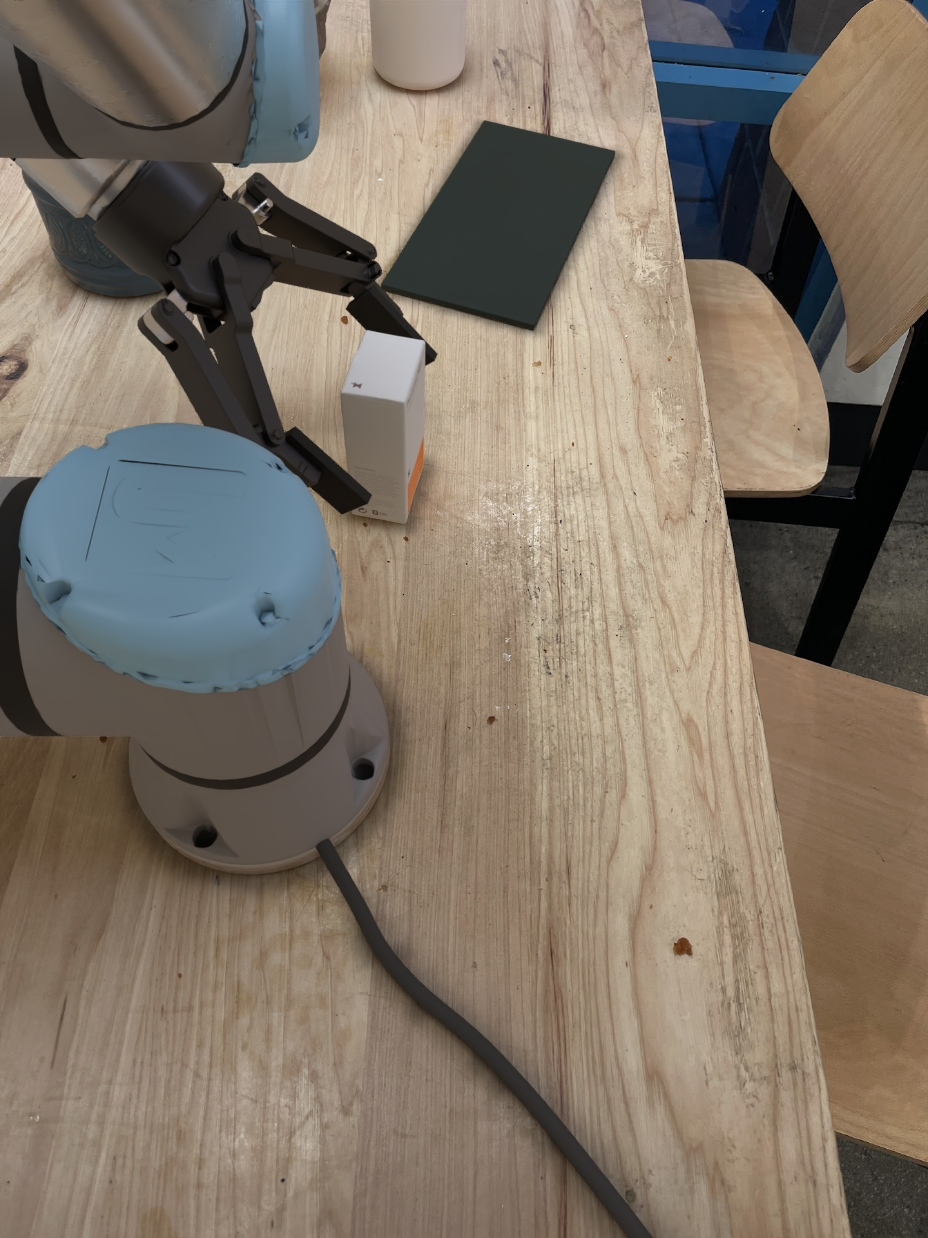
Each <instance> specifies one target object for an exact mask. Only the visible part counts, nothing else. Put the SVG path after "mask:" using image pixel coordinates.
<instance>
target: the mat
mask: <svg viewBox="0 0 928 1238" xmlns="http://www.w3.org/2000/svg"><path fill="white" fill-rule="evenodd" d="M615 156H616V150H614V149H609V148H606V147H602V146H596V145H594V144H593V145H592V144H588V143H583V142H580V141H575V140H571V139H566V138H563V137H559V136H554V135H549V134H545V133H542V132H538V131H533V130H528V129H524V128H520V127H515V126H511V125H507V124H503V123H498V122H495V121H489V120H487V119H484V120H483V121H482V123H481V124H480V126H479V128H478V129H477V131H476V132H475V134H474V136H473V137H472V138H471V140H470V142H469V143H468V145H467V146H466V149H465V150H464V152H463V153H462V155H461V156H460V158H459V159H458V161H457V162H456V164H455V165H454V167H453V169H452V170H451V172H450V174H449V175H448V177H447V178H446V180H445V182H444V183H443V185H442V186H441V188H440V189H439V191H438V193H437V194H436V195H435V197H434V199H433V201H432V202H431V204H430V205H429V207H428V208H427V210H426V212H425V213H424V215H423V216H422V218H421V220H420V221H419V223H418V224H417V226H416V227H415V229H414V231H413V232H412V234H411V235H410V237H409V239H408V240H407V242H406V244H405V245H404V247H403V248H402V249H401V251H400V253H399V255H398V256H397V257H396V260H395V261H394V263H393V264H392V266H391V267H390V269H389V270H388V272H387V274H386V275H385V277H384V278H383V280H382V282H381V283H380V287H381V288H382V289H383V290H384V291H385V292H389V293H393V294H397V295H400V296H403V297H408V298H412V299H415V300H419V301H422V302H426V303H430V304H434V305H437V306H442V307H445V308H449V309H452V310H457V311H459V312H463V313H468V314H470V315H475V316H479V317H483V318H486V319H489V320H494V321H497V322H501V323H505V324H508V325H512V326H516V327H520V328H522V329H523V328H524V329H527V330H531V331H534V330H535V329H536V327H537V324H538V322H539V320H540V319H541V316H542V313H543V312H544V309H545V307H546V306H547V303H548V301H549V298H550V296H551V295H552V292H553V290H554V287H555V285H556V284H557V281H558V280H559V276H560V275H561V273H562V271H563V268H564V266H565V264H566V262H567V259H568V257H569V255H570V253H571V251H572V249H573V246H574V244H575V243H576V240H577V238H578V236H579V234H580V232H581V230H582V227H583V225H584V223H585V221H586V219H587V216H588V214H589V212H590V210H591V208H592V206H593V204H594V201H595V199H596V197H597V195H598V192H599V191H600V188H601V186H602V184H603V183H604V180H605V178H606V175H607V174H608V171H609V169H610V167H611V165H612V163H613V161H614V158H615Z"/></svg>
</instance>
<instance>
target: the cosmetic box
mask: <svg viewBox="0 0 928 1238" xmlns="http://www.w3.org/2000/svg"><path fill="white" fill-rule="evenodd" d="M425 341H426V340H425ZM425 341H423V340H417V339H412V338H406V337H400V336H395V335H389V334H384V333H378V332H374V331H369V330H365V331H364V332H363V335H362V337H361V340H360V342H359V344H358V347H357V349H356V351H355V353H354V354H353V357H352V359H351V361H350V365H349V367H348V371H347V374H346V376H345V379H344V382H343V384H342V386H341V389H340V392H339V397H340V408H341V420H342V429H343V441H344V450H345V459H346V460H345V461H346V472H347V473H348V474H349V475H351V476H352V477H353V478H354V479H355V480H356V481H357V482H358V483H359V484H361V485H362V486H363V487H364V488H365V489H366V490H367V491H368V492H369V493H371V494H372V496H371V499H370V501H369V503H368V504H366V505H364V506H362V507H359V508H357V509H355V510H352V511H350V512H351V514H352V515H354V516H360V517H364V518H369V519H370V518H371V519H375V520H380V521H385V522H391V523H395V524H400V525H405V524H407V523H408V518H409V514H410V511H411V508H412V505H413V500H414V497H415V494H416V491H417V487H418V486H419V482H420V478H421V475H422V474H423V473H422V472H423V469H424V466H425V460H424V459H425V415H426V414H425V407H426V405H425V404H426V396H425V395H426V366H425Z"/></svg>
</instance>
